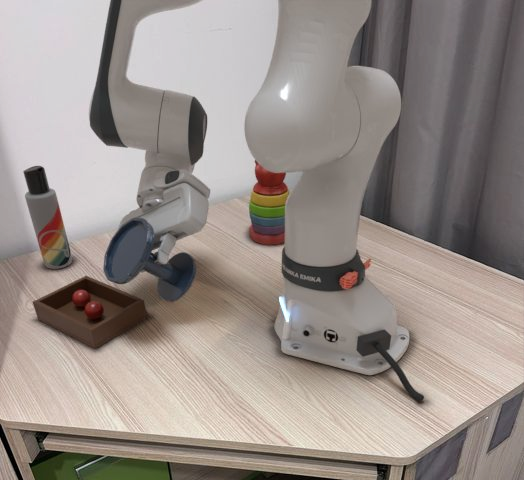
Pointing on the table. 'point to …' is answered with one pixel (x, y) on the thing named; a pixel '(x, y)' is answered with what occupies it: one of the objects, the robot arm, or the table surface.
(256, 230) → the stacking bear
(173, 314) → the table surface
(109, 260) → the footed dish
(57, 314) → the walnut tray
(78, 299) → the ball
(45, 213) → the lotion bottle
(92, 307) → the ball
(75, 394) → the table surface
